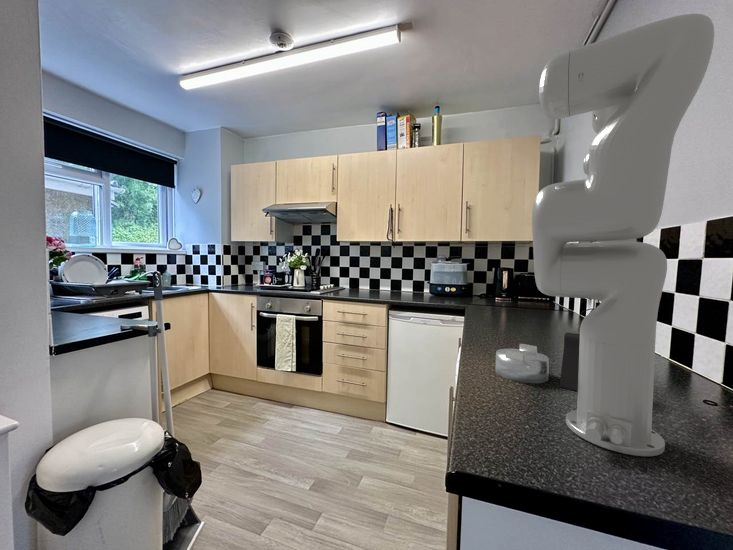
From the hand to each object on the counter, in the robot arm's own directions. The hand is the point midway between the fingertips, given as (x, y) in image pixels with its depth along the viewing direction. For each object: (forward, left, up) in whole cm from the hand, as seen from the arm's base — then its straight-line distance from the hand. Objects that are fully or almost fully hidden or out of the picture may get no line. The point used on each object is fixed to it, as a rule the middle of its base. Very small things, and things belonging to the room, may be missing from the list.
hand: (608, 276), depth 75 cm
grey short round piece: (-12, +16, -26) cm, 32 cm away
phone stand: (-10, +4, -26) cm, 28 cm away
